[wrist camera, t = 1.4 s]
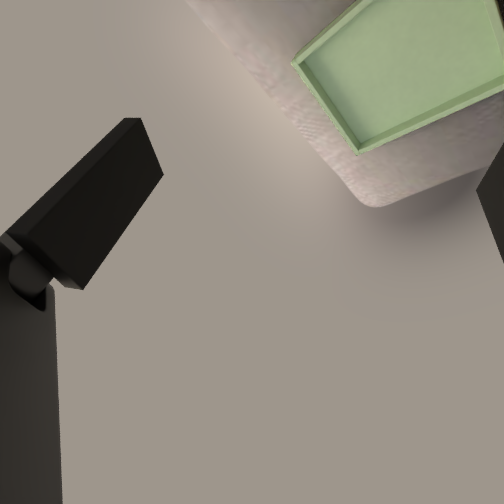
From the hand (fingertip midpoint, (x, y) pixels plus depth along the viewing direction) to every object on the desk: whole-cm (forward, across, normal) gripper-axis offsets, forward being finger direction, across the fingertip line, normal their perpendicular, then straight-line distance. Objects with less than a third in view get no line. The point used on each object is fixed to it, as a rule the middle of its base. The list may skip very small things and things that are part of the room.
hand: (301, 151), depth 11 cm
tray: (+24, +6, -5) cm, 26 cm away
